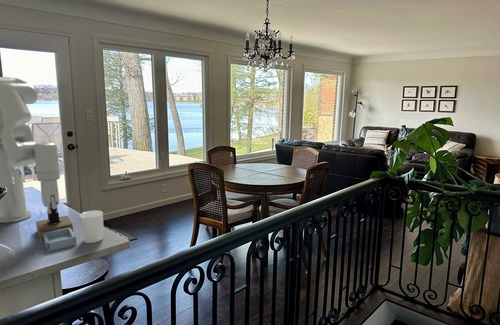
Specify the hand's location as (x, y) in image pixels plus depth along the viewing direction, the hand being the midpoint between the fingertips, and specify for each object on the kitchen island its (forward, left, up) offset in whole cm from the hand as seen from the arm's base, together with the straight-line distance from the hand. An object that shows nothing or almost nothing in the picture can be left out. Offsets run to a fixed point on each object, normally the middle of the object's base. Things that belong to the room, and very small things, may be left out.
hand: (53, 220), depth 131 cm
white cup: (+16, +11, -5) cm, 20 cm away
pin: (0, 0, -5) cm, 5 cm away
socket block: (0, 0, -5) cm, 5 cm away
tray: (+12, 0, -5) cm, 13 cm away
